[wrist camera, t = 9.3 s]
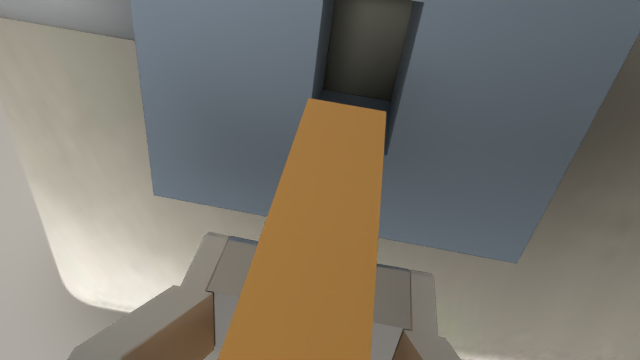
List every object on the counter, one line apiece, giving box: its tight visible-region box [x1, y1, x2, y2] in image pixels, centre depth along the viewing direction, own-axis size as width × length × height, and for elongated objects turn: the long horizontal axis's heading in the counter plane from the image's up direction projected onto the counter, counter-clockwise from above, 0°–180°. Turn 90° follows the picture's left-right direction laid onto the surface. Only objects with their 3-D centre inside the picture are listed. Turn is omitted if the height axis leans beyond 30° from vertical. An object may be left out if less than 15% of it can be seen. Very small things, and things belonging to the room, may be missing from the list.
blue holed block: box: [0, 0, 640, 264], centre depth 21 cm, size 30×16×5 cm, turn 83°
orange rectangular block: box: [218, 98, 386, 360], centre depth 11 cm, size 5×2×8 cm, turn 173°
